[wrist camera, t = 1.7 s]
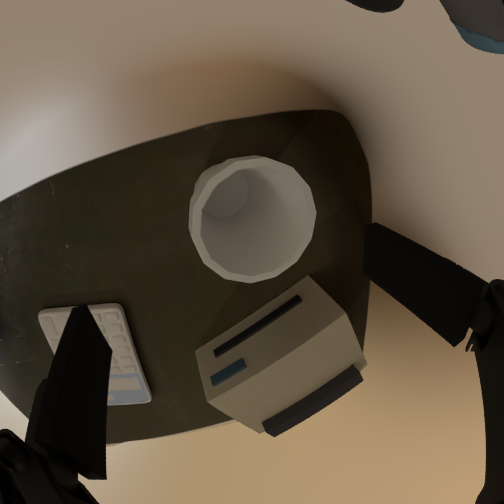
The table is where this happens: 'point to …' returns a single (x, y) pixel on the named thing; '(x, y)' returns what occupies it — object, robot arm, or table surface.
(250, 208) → the foam cup
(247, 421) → the printer
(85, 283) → the table surface
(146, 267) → the table surface
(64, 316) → the calculator
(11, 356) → the table surface
